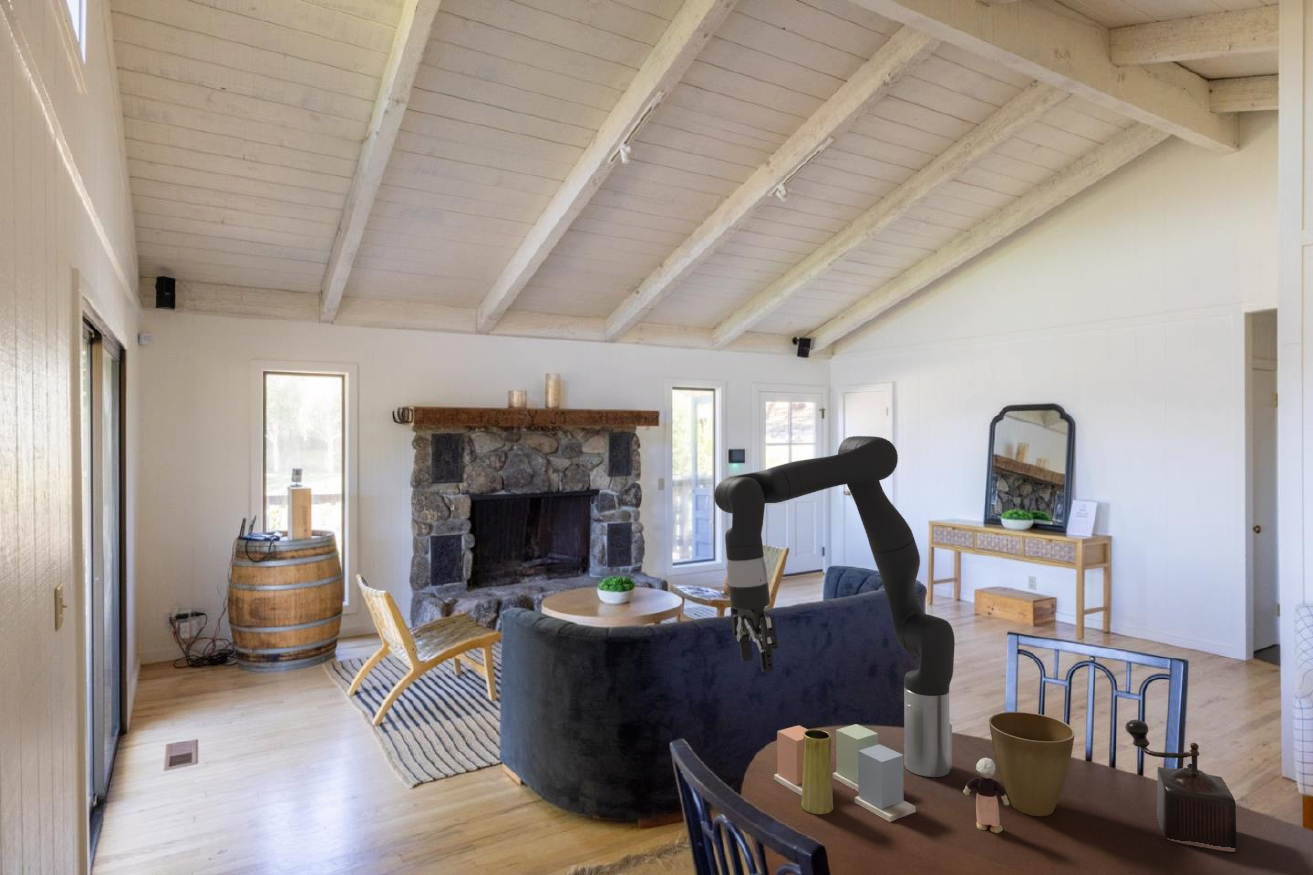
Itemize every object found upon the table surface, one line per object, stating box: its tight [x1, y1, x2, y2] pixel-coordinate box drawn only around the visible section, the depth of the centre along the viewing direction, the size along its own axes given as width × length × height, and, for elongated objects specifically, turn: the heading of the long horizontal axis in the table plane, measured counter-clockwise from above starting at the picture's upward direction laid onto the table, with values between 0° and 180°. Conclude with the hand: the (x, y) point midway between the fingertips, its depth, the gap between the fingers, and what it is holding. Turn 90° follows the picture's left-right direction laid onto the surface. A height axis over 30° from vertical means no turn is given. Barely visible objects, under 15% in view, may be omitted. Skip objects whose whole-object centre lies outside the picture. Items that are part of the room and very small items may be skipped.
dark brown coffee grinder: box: [1125, 719, 1237, 849], centre depth 138 cm, size 16×11×18 cm
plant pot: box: [988, 711, 1076, 817], centre depth 146 cm, size 15×15×16 cm
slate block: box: [857, 743, 905, 809], centre depth 147 cm, size 6×6×9 cm
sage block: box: [835, 723, 879, 783], centre depth 158 cm, size 6×6×9 cm
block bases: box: [773, 771, 917, 823], centre depth 152 cm, size 18×25×1 cm
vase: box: [800, 728, 834, 816], centre depth 146 cm, size 6×6×14 cm
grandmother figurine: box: [962, 757, 1010, 834], centre depth 139 cm, size 8×4×13 cm, turn 71°
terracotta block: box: [776, 725, 809, 785], centre depth 157 cm, size 6×6×9 cm
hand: (757, 665), depth 144 cm, fingers open, 8 cm apart
